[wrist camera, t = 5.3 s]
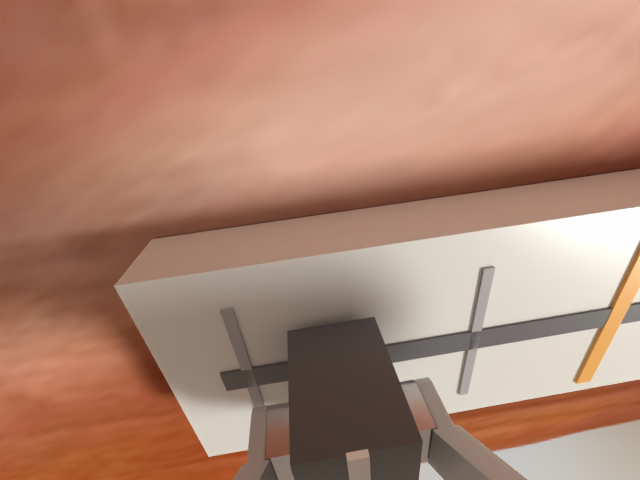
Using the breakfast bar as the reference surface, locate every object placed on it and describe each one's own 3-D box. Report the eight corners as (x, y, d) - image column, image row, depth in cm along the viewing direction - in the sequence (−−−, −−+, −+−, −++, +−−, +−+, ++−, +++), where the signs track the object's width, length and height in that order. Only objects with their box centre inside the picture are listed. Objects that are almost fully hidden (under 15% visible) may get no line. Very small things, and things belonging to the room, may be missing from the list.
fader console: (220, 396, 16) (208, 459, 14) (151, 238, 12) (112, 288, 9) (628, 327, 18) (691, 372, 15) (721, 157, 13) (840, 178, 10)
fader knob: (306, 417, 12) (316, 555, 9) (286, 329, 10) (290, 471, 6) (376, 405, 13) (414, 536, 9) (374, 315, 10) (425, 446, 7)
